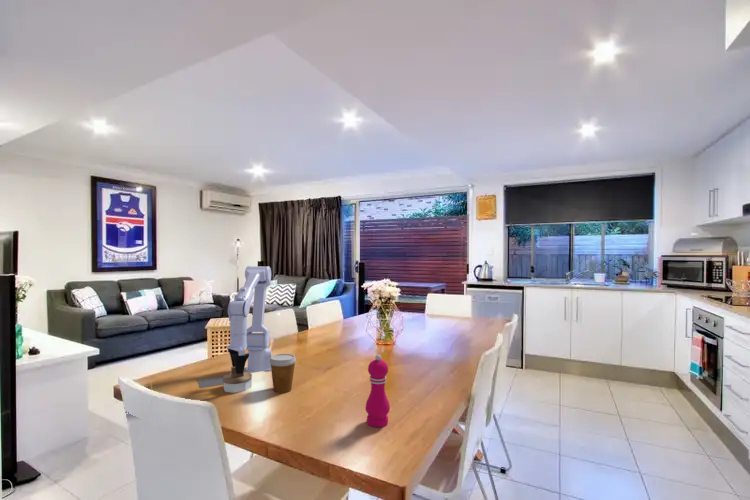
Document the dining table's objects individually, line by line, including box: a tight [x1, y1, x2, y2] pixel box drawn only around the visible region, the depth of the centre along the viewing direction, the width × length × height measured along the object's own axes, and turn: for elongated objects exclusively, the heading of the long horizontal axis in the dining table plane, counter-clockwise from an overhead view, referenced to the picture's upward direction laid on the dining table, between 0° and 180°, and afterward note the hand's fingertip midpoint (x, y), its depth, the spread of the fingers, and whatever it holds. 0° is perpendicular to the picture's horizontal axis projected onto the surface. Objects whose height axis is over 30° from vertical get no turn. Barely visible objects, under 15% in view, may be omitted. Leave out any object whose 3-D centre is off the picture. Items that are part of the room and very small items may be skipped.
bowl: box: [223, 379, 253, 394], centre depth 134 cm, size 9×9×4 cm
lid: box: [222, 366, 253, 384], centre depth 134 cm, size 10×10×4 cm
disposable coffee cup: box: [269, 353, 297, 394], centre depth 134 cm, size 10×10×12 cm
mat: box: [197, 375, 224, 389], centre depth 140 cm, size 10×10×1 cm
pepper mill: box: [365, 354, 391, 428], centre depth 109 cm, size 7×7×20 cm
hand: (237, 370), depth 135 cm, fingers open, 7 cm apart
